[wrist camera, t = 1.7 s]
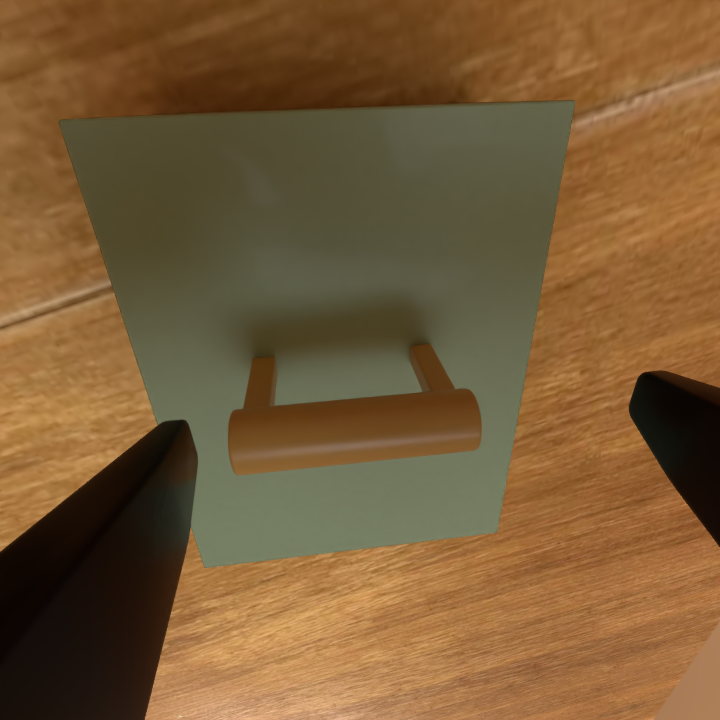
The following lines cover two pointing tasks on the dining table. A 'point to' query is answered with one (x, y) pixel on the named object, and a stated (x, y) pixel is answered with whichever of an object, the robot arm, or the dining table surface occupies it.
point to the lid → (331, 308)
